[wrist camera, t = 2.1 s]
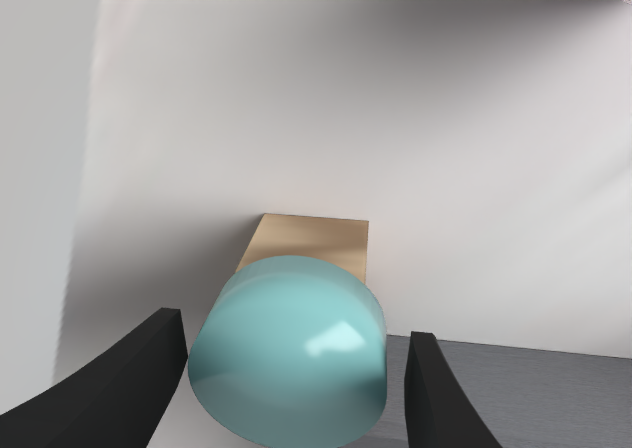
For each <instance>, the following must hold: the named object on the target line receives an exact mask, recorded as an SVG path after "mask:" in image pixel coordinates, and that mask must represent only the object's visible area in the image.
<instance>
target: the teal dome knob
mask: <svg viewBox="0 0 632 448" xmlns="http://www.w3.org/2000/svg"><path fill="white" fill-rule="evenodd" d="M188 376H189V380H190V384H191V386H192V389H193V391H194V393H195V395H196V397H197V399H198V400H199V402H200V403H201V405H202V406H203V407H204V408H205V410H206V411H207V412H208V413H209V414H210V415H211V416H212V417H213V418H214V419H215V420H217V421H218V422H219V423H220V424H221V425H223V426H224V427H226V428H227V429H229V430H230V431H232V432H233V433H235V434H237V435H239V436H241V437H243V438H245V439H247V440H249V441H252V442H254V443H257V444H260V445H263V446H267V447H270V448H337V447H340V446H344V445H346V444H348V443H351V442H353V441H355V440H357V439H358V438H360V437H362V436H363V435H364V434H366V433H367V432H368V431H369V430H370V429H371V428H372V427H373V426H374V425H375V424H376V423H377V421H378V420H379V418H380V417H381V415H382V413H383V410H384V408H385V405H386V400H387V335H386V322H385V317H384V314H383V311H382V308H381V306H380V304H379V302H378V301H377V299H376V298H375V296H374V295H373V293H372V292H371V291H370V290H369V289H368V288H367V286H366V285H364V283H362V282H361V281H360V280H359V279H358V278H356V277H355V276H354V275H352V274H351V273H349V272H348V271H346V270H344V269H342V268H340V267H338V266H336V265H334V264H332V263H329V262H326V261H323V260H320V259H316V258H312V257H305V256H293V255H285V256H274V257H269V258H265V259H261V260H259V261H256V262H253V263H251V264H249V265H247V266H245V267H243V268H242V269H240V270H239V271H238V272H236V273H235V274H234V275H233V276H232V277H231V278H230V279H229V280H228V281H227V282H226V284H225V285H224V286H223V288H222V290H221V292H220V294H219V296H218V298H217V300H216V302H215V304H214V305H213V307H212V309H211V311H210V313H209V315H208V317H207V319H206V321H205V323H204V325H203V327H202V329H201V330H200V332H199V334H198V336H197V338H196V340H195V342H194V344H193V346H192V348H191V351H190V354H189V358H188Z"/></svg>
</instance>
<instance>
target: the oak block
mask: <svg viewBox="0 0 632 448" xmlns="http://www.w3.org/2000/svg"><path fill="white" fill-rule="evenodd" d="M368 223H369V221H360V220H346V219H332V218H318V217H305V216H291V215H277V214H264V216H263V218H262V220H261V222H260V224H259V226H258V228H257V229H256V231H255V233H254V235H253V237H252V239H251V241H250V243H249V245H248V247H247V249H246V251H245V253H244V255H243V257H242V259H241V261H240V263H239V265H238V267H237V269H236V271H235V273H236V272H238V271H239V270H240V269H242V268H243V267H245V266H247V265H249V264H251V263H253V262H256V261H259V260H261V259H265V258H269V257H274V256H285V255H293V256H305V257H312V258H316V259H320V260H323V261H326V262H329V263H332V264H334V265H336V266H338V267H340V268H342V269H344V270H346V271H348V272H349V273H351V274H352V275H354V276H355V277H356V278H358V279H359V280H360V281H361V282H362V283H364V285H365V276H366V258H367V241H368Z"/></svg>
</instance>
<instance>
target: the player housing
mask: <svg viewBox="0 0 632 448" xmlns="http://www.w3.org/2000/svg"><path fill="white" fill-rule="evenodd" d="M437 342H438V344H439V346H440V348H441V351H442V353H443V355H444V357H445V359H446V361H447V362H448V364H449V366H450V368H451V370H452V372H453V374H454V376H455V377H456V379H457V381H458V382H459V384H460V386H461V387H462V389H463V391H464V393H465V394H466V396H467V397H468V399H469V401H470V402H471V404H472V405H473V407H474V408H475V410H476V411H477V413H478V414H479V416H480V417H481V419H482V420H483V422H484V423H485V424H486V426H487V427H488V429H489V430H490V431H491V433H492V434H493V435H494V437H495V438H496V439H497V441H498V442H499V443H500V444H501V446H502V447H503V448H632V359H623V358H613V357H603V356H593V355H583V354H573V353H563V352H553V351H542V350H532V349H522V348H512V347H502V346H492V345H482V344H472V343H462V342H452V341H442V340H437ZM409 344H410V337H401V336H391V335H387V400H386V405H385V408H384V410H383V413H382V415H381V417H380V418H379V420H378V421H377V423H376V424H375V425H374V426H373V427H372V428H371V429H370V430H369V431H368V432H367V433H366V434H364V435H363V436H362V437H360V438H358V439H357V440H355V441H353V442H351V443H348V444H346V445H344V446H340V447H337V448H409V444H408V437H407V429H406V420H405V409H404V377H405V370H406V364H407V357H408V350H409Z"/></svg>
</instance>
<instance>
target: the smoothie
mask: <svg viewBox="0 0 632 448" xmlns="http://www.w3.org/2000/svg"><path fill="white" fill-rule="evenodd" d="M621 1H624V2H626V3H628V4H631V5H632V0H621Z"/></svg>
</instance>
